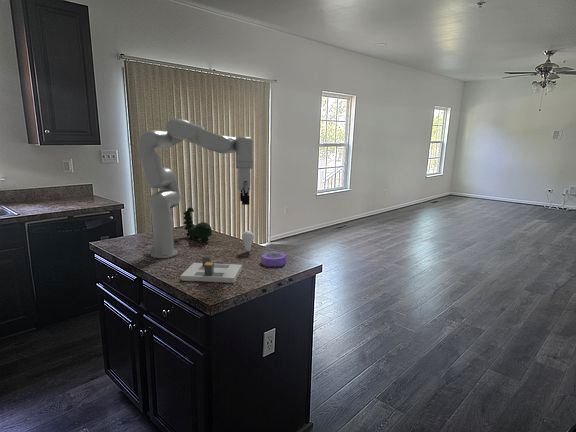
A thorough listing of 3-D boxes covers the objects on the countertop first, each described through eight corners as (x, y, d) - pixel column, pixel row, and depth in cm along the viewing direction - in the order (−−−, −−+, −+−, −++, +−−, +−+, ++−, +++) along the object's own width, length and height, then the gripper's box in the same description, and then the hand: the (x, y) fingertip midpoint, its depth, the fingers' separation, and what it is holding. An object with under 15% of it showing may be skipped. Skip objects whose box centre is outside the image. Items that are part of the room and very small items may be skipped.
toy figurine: (181, 240, 211) (204, 245, 194) (178, 208, 209) (201, 210, 191) (195, 237, 218) (219, 242, 200) (192, 206, 215) (216, 208, 197)
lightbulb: (242, 249, 189) (242, 229, 186) (254, 249, 189) (253, 229, 187) (241, 253, 183) (241, 232, 181) (253, 253, 183) (253, 232, 181)
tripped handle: (204, 274, 147) (204, 264, 146) (206, 272, 150) (206, 262, 149) (211, 275, 147) (211, 264, 146) (213, 272, 150) (213, 262, 149)
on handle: (202, 265, 157) (202, 257, 156) (204, 263, 160) (204, 255, 159) (209, 266, 157) (209, 257, 156) (211, 263, 160) (211, 255, 159)
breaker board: (180, 280, 147) (180, 275, 146) (193, 266, 162) (193, 262, 162) (234, 282, 145) (234, 277, 145) (242, 268, 161) (242, 264, 161)
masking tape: (256, 263, 170) (256, 255, 169) (272, 257, 178) (272, 249, 178) (274, 269, 162) (274, 260, 162) (291, 262, 171) (291, 254, 170)
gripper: (234, 163, 169) (234, 199, 173) (237, 166, 153) (237, 206, 156) (250, 163, 171) (250, 199, 174) (255, 166, 154) (255, 205, 158)
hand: (244, 202), depth 165 cm, fingers open, 9 cm apart
